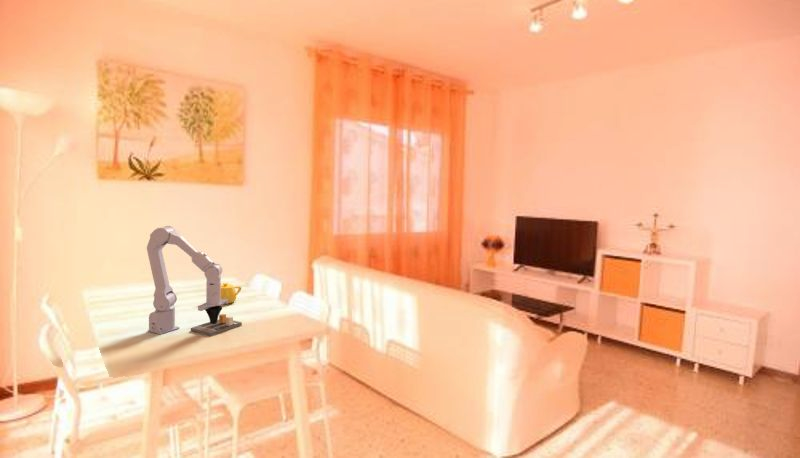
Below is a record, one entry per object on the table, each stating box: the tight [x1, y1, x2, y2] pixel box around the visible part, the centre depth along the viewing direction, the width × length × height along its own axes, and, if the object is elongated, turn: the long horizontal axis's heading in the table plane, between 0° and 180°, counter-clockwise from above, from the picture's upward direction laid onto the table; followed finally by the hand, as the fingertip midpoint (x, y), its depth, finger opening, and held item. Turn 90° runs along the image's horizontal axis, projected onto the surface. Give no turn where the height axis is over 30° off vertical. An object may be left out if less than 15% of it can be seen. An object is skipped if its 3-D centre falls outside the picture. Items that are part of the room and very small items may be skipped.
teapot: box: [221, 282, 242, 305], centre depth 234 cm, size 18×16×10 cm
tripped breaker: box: [218, 313, 227, 323], centre depth 195 cm, size 2×2×4 cm
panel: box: [190, 315, 243, 337], centre depth 193 cm, size 17×12×5 cm
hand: (213, 323), depth 191 cm, fingers closed
